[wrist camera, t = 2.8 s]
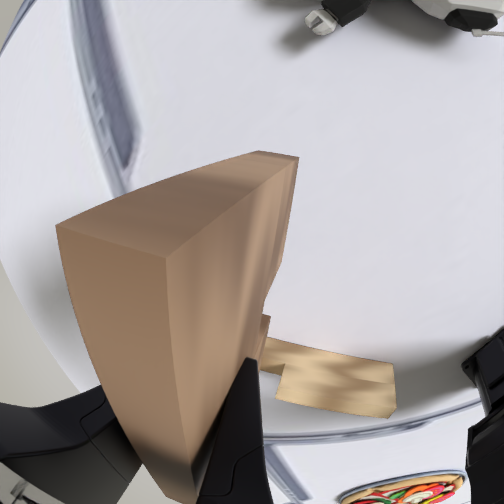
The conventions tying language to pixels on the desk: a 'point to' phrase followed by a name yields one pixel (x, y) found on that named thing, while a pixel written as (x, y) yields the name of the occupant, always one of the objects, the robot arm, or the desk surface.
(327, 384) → the oak board
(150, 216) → the brown tapered flat block
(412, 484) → the toy pizza
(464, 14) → the robot toy
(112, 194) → the desk surface
